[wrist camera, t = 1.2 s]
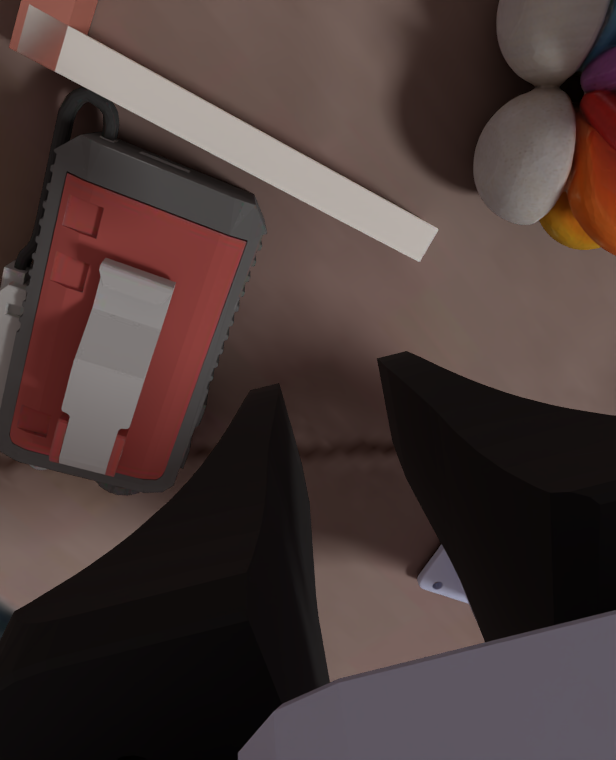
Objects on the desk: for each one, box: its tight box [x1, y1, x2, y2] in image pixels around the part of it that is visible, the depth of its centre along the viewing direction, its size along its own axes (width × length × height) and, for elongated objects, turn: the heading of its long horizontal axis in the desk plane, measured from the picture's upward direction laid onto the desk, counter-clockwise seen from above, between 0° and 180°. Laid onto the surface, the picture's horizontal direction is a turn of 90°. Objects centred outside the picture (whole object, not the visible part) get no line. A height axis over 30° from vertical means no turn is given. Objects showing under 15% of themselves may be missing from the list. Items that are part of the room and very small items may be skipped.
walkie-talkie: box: [0, 87, 267, 495], centre depth 20 cm, size 9×4×20 cm
